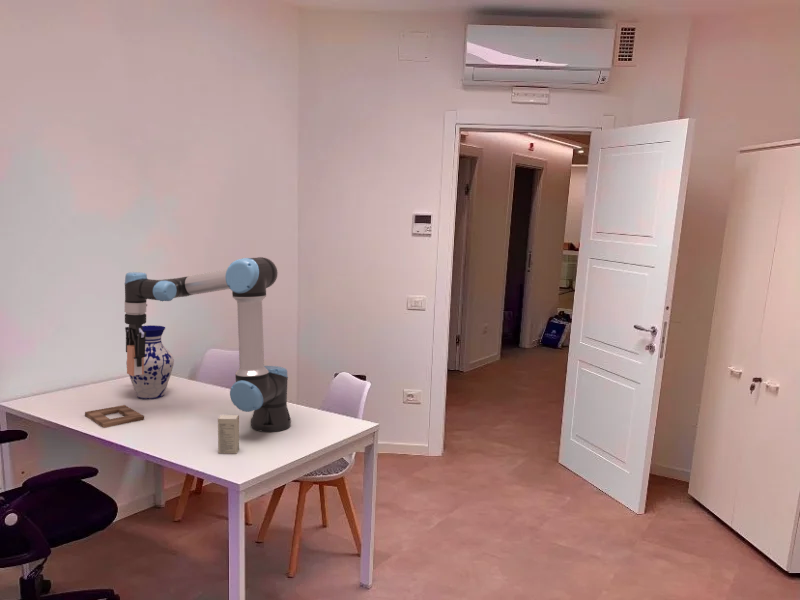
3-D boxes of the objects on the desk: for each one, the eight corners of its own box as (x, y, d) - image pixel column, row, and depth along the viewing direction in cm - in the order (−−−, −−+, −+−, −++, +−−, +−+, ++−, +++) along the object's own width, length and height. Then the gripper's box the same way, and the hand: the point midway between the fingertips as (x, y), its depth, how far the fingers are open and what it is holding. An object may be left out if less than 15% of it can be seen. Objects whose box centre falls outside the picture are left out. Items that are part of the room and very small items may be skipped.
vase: (174, 400, 256) (174, 331, 252) (125, 403, 249) (124, 332, 245) (173, 388, 274) (173, 323, 270) (127, 391, 267) (127, 324, 263)
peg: (143, 374, 231) (143, 346, 230) (131, 375, 228) (132, 347, 226) (138, 371, 234) (139, 344, 233) (126, 373, 231) (127, 345, 229)
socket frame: (144, 419, 230) (144, 416, 230) (103, 428, 220) (103, 424, 219) (124, 408, 243) (124, 404, 242) (85, 415, 232) (84, 411, 232)
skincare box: (239, 449, 206) (240, 414, 204) (236, 454, 201) (237, 418, 200) (220, 448, 205) (221, 414, 204) (217, 453, 201) (217, 418, 200)
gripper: (155, 316, 225) (154, 376, 228) (136, 309, 237) (135, 367, 240) (135, 317, 219) (134, 379, 222) (116, 310, 231) (116, 369, 234)
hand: (135, 373), depth 231 cm, fingers closed on peg, 4 cm apart
